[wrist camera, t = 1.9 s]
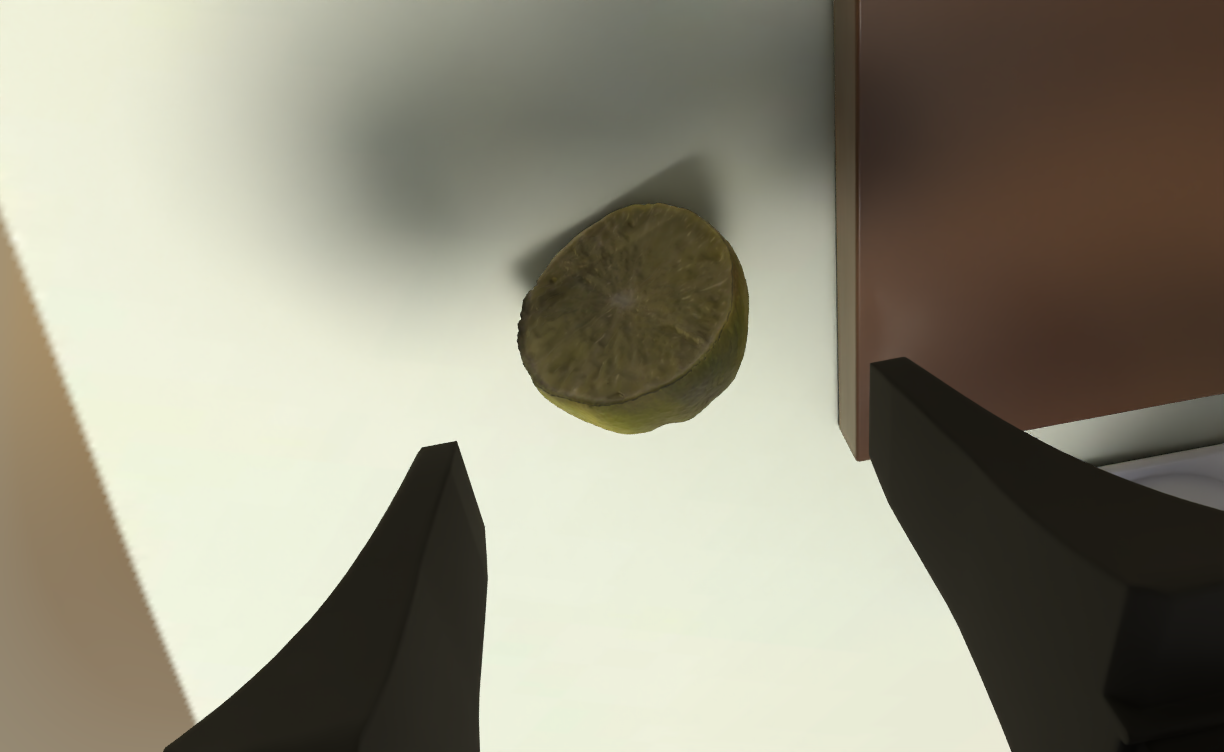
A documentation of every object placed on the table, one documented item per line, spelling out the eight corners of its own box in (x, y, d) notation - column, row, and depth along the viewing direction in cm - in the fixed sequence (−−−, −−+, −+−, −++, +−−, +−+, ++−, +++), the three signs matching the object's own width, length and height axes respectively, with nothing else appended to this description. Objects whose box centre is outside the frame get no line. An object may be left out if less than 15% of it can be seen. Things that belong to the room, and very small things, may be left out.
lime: (500, 320, 22) (499, 449, 17) (584, 140, 19) (607, 239, 15) (662, 378, 23) (698, 510, 19) (758, 217, 21) (823, 326, 17)
